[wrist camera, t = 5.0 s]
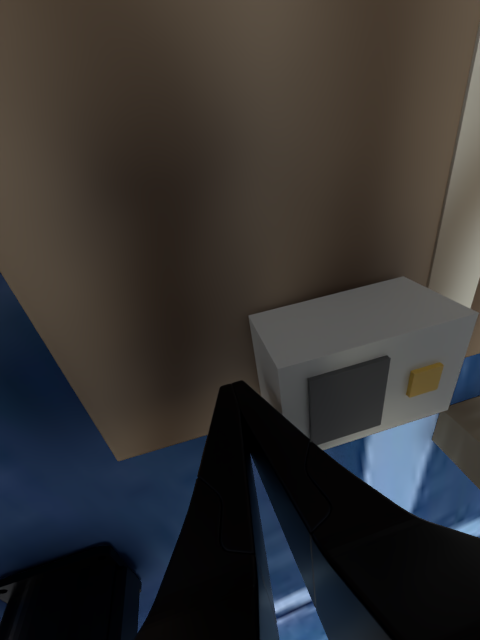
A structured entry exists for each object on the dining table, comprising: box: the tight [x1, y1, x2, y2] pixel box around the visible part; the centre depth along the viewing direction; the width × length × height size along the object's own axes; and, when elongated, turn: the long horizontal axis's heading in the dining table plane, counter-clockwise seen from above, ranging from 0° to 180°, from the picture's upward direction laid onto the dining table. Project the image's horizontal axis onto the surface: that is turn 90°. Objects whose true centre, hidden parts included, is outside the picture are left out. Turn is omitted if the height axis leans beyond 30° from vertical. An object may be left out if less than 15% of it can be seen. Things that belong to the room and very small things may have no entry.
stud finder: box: [248, 276, 479, 450], centre depth 10 cm, size 6×4×3 cm, turn 98°
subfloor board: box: [0, 0, 480, 461], centre depth 10 cm, size 20×17×2 cm
